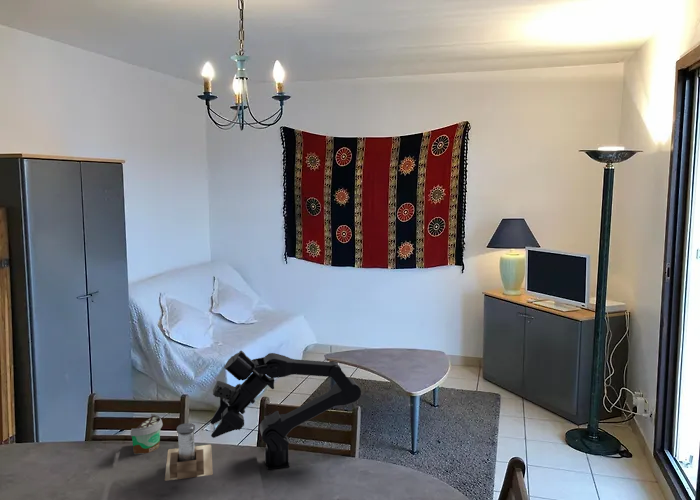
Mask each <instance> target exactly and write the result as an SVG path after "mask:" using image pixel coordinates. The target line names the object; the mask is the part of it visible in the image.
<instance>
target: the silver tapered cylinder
mask: <svg viewBox="0 0 700 500" xmlns="http://www.w3.org/2000/svg"><path fill="white" fill-rule="evenodd" d="M195 431H196V425H195V424H194V423H190V422H187V423H186V422H185V423H181V424H179V425H177V427H176V433H177V440H178V441H177V443H178V444H177V445H178V447H177V448H179V462H183V461H192V460H195V446H196V445H195Z"/></svg>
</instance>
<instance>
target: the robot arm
mask: <svg viewBox="0 0 700 500" xmlns="http://www.w3.org/2000/svg"><path fill="white" fill-rule="evenodd" d="M223 369H225V370H226V371H227V372H228V373H229V374H230V375H232V376H233V377H234V379H236V380H237V381H243V382H242V383H236V385H235V386H233V385H231V384H230V383H226V382H223V381H221V380H217V381H216V382H215V385H214V387H213V389H212V395H213V396H214V397H215V398H219V406H218V407H217V408H216V409H217V410H216V411H215V412H214V414H213V416H212V418H211V420H210V422H209V423H210V424H211V425H214V424H216V423H218V422H219V423H218V425H217V426H216V427H215V429H214V430H213V431H212V433H211V435H210V436H211V438H213V439H214V438H217V437H220V436H222V435H225V434H227V433H229V432H232V431H238V430H239V431H241V429H242V428H244V427H245V419H244V418H245V417H244V414H245V413H246V410H245V409H247V408H248V406H249V405H251V404H254V403H255V402H256V400H255V399H256V398H257V397H258V396H259V395H260V394H261V393H262V392H263V390H264V389H266V387H269V388H270V389H271V390H274V389H275V378H276V379H277V378H285V377H288V376H292V375H293V376H294V375H297V376H299V375H300V376H312V377H313V376H314V377H324V378H325V377H329V378H332V380H334V381H333V382H335V384H333V386H332V387H331V388H330V389H329V391H328V392H325V393H324V394H322V395H320V396H318V397H316V398H314V399H312V400H310V401H308V402H306V403H304V404H302V405H300V406H299V407H297V408H295V409H293V410H291V411H288V412H287V413H281V414H280V413H279V410H275V411H274V412H272V413H271V414H269V415H265V416H264V418H263V419H262V420H261V421H260V424H259V431H260V436H261V438H262V441H263V443H265V444H266V445H265V448H263V450H264V454H263V455H264V464H265V465H266V467H267V470H276V469H283V468H290V466H291V465H290V462H289V444H290V442H289V440H288V436H287V435H288V434H289V433H290V432H291V431H292V430H293V429H294V428H296V427H298V426H300V425H301V424H304V423H305V422H308V421H310V420H311V419H313V418H315V417H317V416H319V415H321V414H323V413H325V412H326V411H329V410H330V409H333V408H335V407H341V406H348V405H351V404H353V403H355V402H357V401H359V400H360V398H361V396H362V395H361V394H362V390H361V388H360V386H359V384H357V383H356V381H355V380H354V379H353V378H350V377H349V376H348V377H347V375H346V374H345V373H344V371H343V370H342V368H341V366H340V365H339V363H338V362H336V361H333V360H332V361H321V360H309V359H307V360H306V359H297V358H296V359H295V358H291V357H288V356H286V355H283V354H279V353H275V352H269V353H268V354H266V355H265V356H263V357H258V358H253V359H251V358H250V357H249V356H247V355H246V353H245V352H244V351H242V350H240V351H239V352H237V353H235V354H234V355H232V356H230V358H228V360H227V361H226V362H225V365H224V367H223Z"/></svg>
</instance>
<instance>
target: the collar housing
mask: <svg viewBox="0 0 700 500" xmlns="http://www.w3.org/2000/svg"><path fill="white" fill-rule="evenodd" d="M194 446H195V460H192V461H183V462H179V447H177V448H176V447H175V448H169V449H167V456H166V465H165V475H164V481H174V480H181V479H182V480H184V479H190V478H199V477H206V476H213V475H214V473H213V455H212V454H213V453H212V452H213V451H212V444H205V445H204V444H203V445H194Z"/></svg>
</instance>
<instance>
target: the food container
mask: <svg viewBox="0 0 700 500" xmlns="http://www.w3.org/2000/svg"><path fill="white" fill-rule="evenodd" d="M163 425H164V424H163V420H162V418H161V416H160V415H158V414H155V413H151V415H150V417H149V418H148V419H146V420H144V421H142V422H141V423H140V424H139V425H138V426H136V428H131V430H130V437H131V439H132V448H133V449H132V451H133V455H144V454H149V453H152V452H154V451H156V450H157V449H159V447H160V443H161V429H162V427H163Z"/></svg>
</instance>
